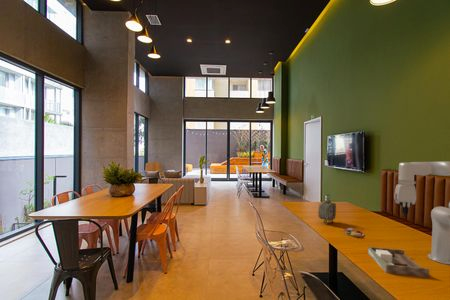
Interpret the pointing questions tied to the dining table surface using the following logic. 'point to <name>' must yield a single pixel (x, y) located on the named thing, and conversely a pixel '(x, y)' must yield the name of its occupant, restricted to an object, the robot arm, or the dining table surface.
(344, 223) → the dining table surface
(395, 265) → the box
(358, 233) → the toy food set
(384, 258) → the cream block
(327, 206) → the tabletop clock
